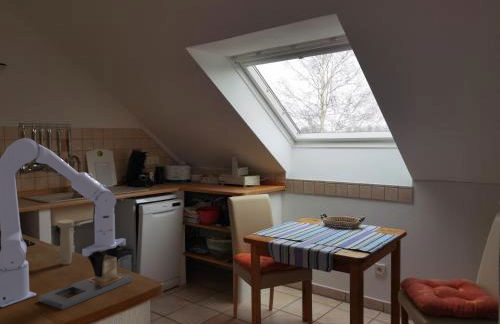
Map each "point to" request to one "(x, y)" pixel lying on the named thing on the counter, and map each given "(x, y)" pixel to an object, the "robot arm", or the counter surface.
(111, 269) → the peg
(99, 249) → the robot arm
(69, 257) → the handle
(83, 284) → the grey board with holes
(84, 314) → the counter surface
